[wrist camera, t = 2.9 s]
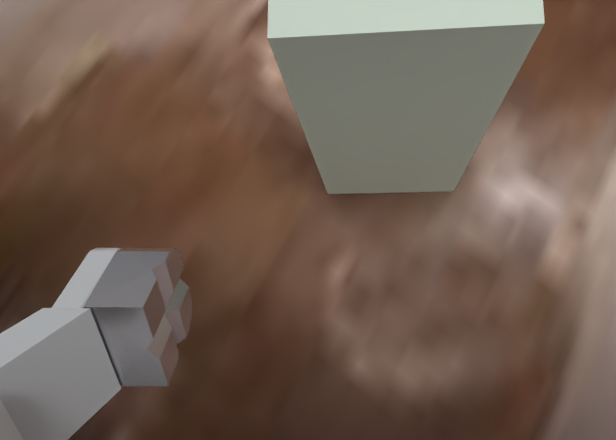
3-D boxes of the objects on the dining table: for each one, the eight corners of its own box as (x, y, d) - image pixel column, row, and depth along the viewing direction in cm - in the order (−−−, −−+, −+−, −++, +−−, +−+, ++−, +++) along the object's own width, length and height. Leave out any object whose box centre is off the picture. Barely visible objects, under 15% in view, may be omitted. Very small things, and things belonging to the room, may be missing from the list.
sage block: (327, 194, 24) (267, 38, 11) (327, 78, 25) (272, -190, 12) (453, 191, 23) (544, 22, 10) (448, 73, 24) (526, -215, 11)
